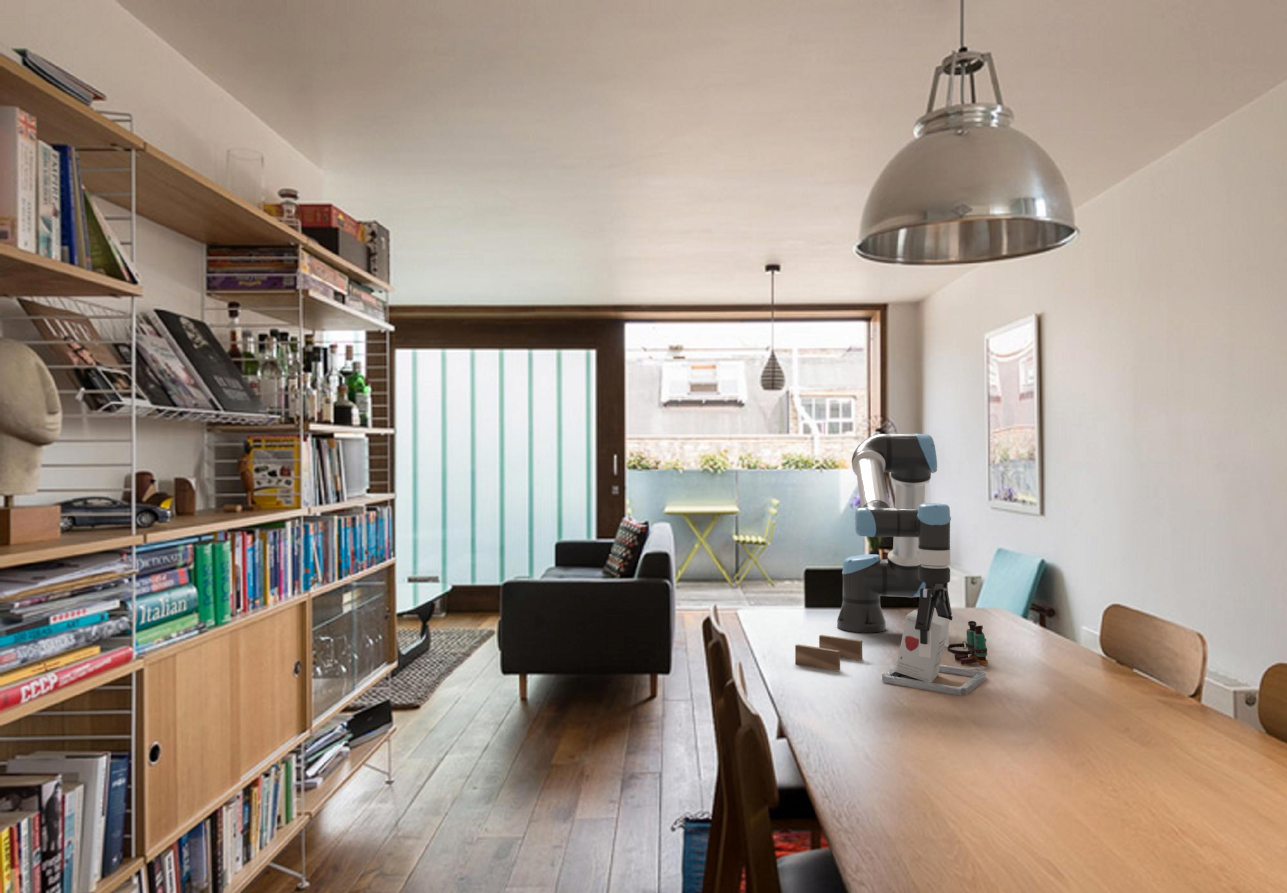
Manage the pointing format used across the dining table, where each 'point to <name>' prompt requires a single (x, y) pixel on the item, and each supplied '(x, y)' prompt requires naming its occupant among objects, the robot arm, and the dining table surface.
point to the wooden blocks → (828, 652)
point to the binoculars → (972, 646)
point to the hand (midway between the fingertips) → (934, 651)
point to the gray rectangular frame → (964, 689)
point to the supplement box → (909, 649)
